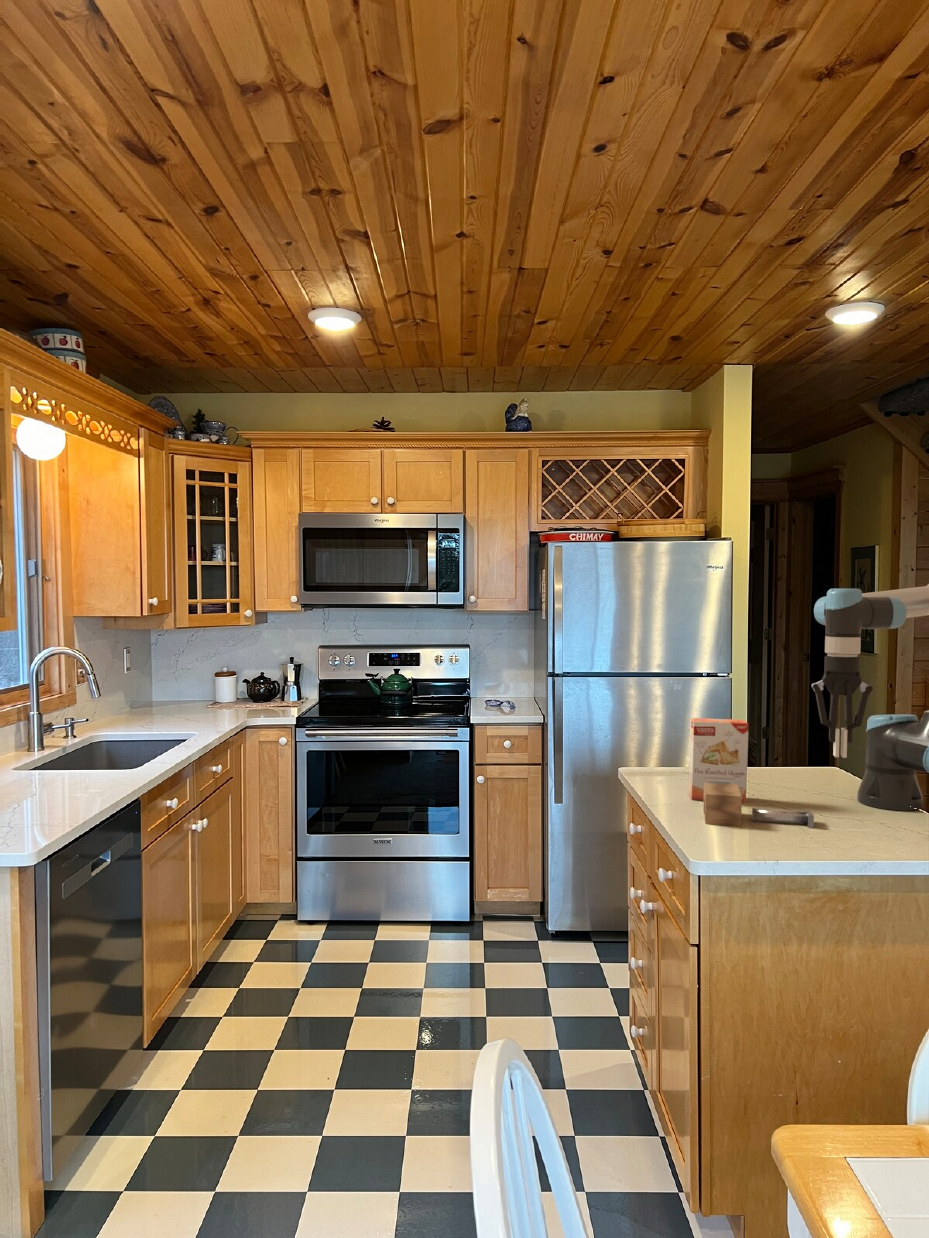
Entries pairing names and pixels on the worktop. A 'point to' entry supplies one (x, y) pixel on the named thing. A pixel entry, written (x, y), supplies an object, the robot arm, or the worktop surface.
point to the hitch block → (722, 804)
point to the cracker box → (718, 754)
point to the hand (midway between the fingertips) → (839, 756)
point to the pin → (784, 816)
